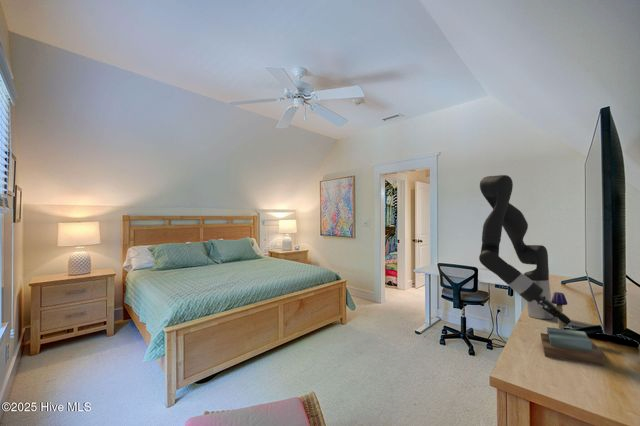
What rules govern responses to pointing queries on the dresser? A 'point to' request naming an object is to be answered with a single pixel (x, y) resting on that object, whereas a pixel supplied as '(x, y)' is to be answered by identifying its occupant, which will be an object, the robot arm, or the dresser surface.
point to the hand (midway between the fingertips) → (568, 321)
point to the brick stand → (571, 346)
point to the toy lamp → (559, 305)
